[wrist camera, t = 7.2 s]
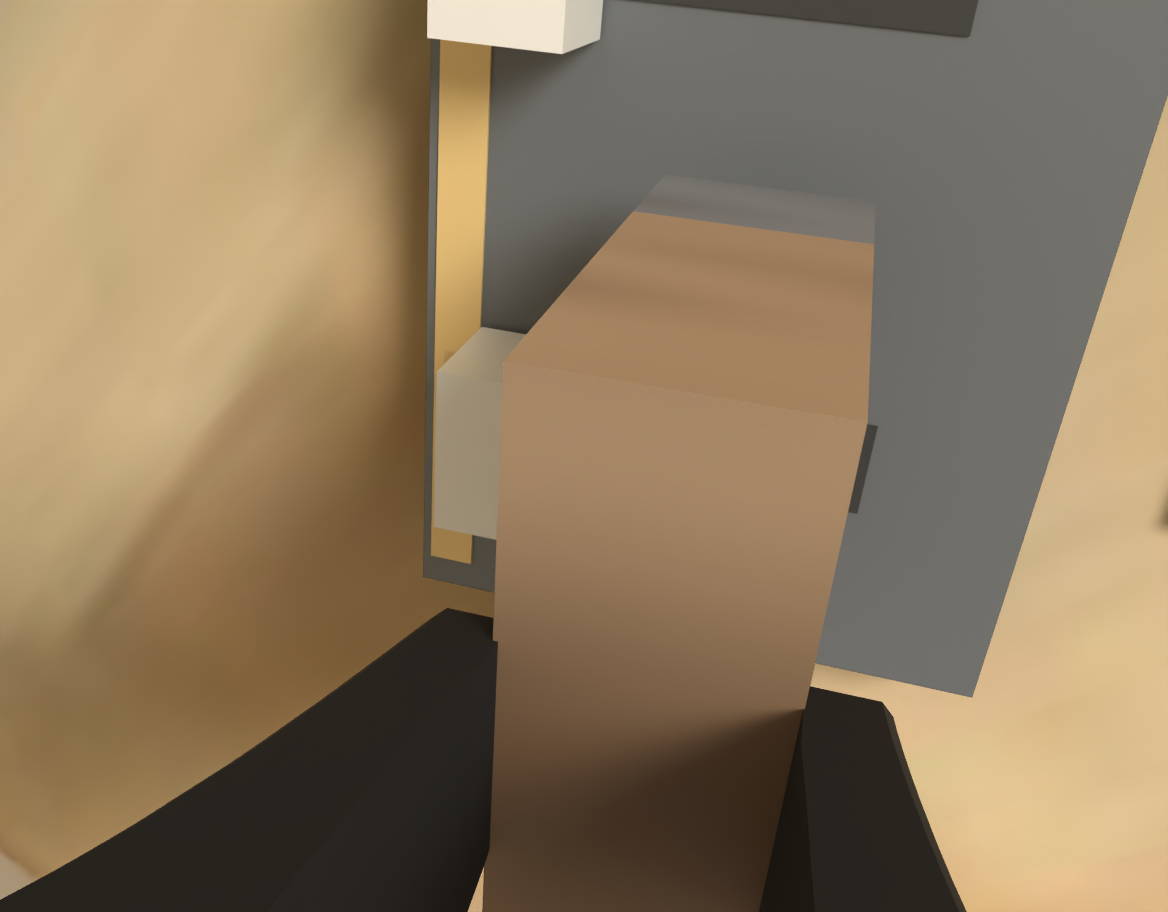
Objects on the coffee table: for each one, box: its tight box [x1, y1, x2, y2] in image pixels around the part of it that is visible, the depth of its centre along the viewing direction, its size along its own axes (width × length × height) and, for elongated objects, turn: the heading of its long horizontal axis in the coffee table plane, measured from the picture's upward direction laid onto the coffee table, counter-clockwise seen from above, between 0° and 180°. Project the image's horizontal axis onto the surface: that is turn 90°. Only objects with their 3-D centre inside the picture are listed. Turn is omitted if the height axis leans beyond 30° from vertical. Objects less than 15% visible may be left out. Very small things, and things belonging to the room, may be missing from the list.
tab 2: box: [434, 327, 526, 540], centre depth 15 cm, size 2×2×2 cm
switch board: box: [423, 0, 1168, 697], centre depth 15 cm, size 12×9×2 cm
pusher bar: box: [482, 174, 876, 912], centre depth 11 cm, size 7×2×6 cm, turn 176°
